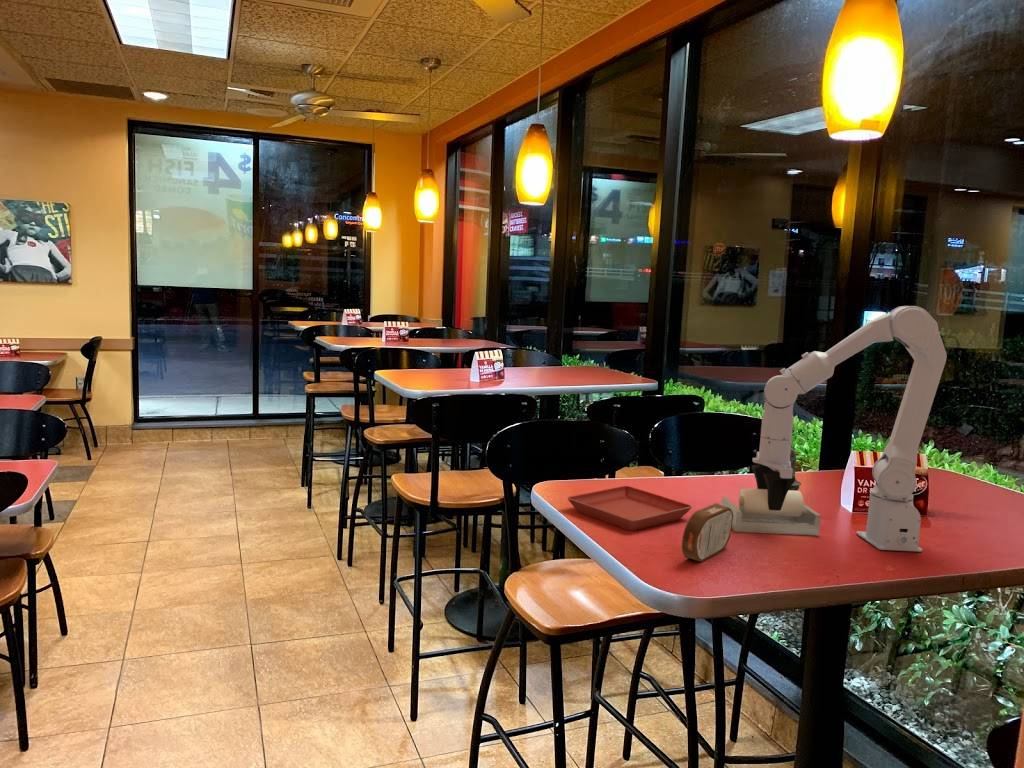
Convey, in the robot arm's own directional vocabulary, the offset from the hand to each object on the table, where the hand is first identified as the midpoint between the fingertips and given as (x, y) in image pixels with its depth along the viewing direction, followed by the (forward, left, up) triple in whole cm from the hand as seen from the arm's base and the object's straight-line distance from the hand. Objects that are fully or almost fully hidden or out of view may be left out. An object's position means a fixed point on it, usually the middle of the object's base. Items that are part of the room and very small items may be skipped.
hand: (769, 505), depth 150 cm
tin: (-19, +17, -4) cm, 26 cm away
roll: (0, 0, -2) cm, 2 cm away
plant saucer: (+3, +27, -5) cm, 28 cm away
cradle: (0, 0, -4) cm, 4 cm away
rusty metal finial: (+23, -12, -4) cm, 26 cm away
